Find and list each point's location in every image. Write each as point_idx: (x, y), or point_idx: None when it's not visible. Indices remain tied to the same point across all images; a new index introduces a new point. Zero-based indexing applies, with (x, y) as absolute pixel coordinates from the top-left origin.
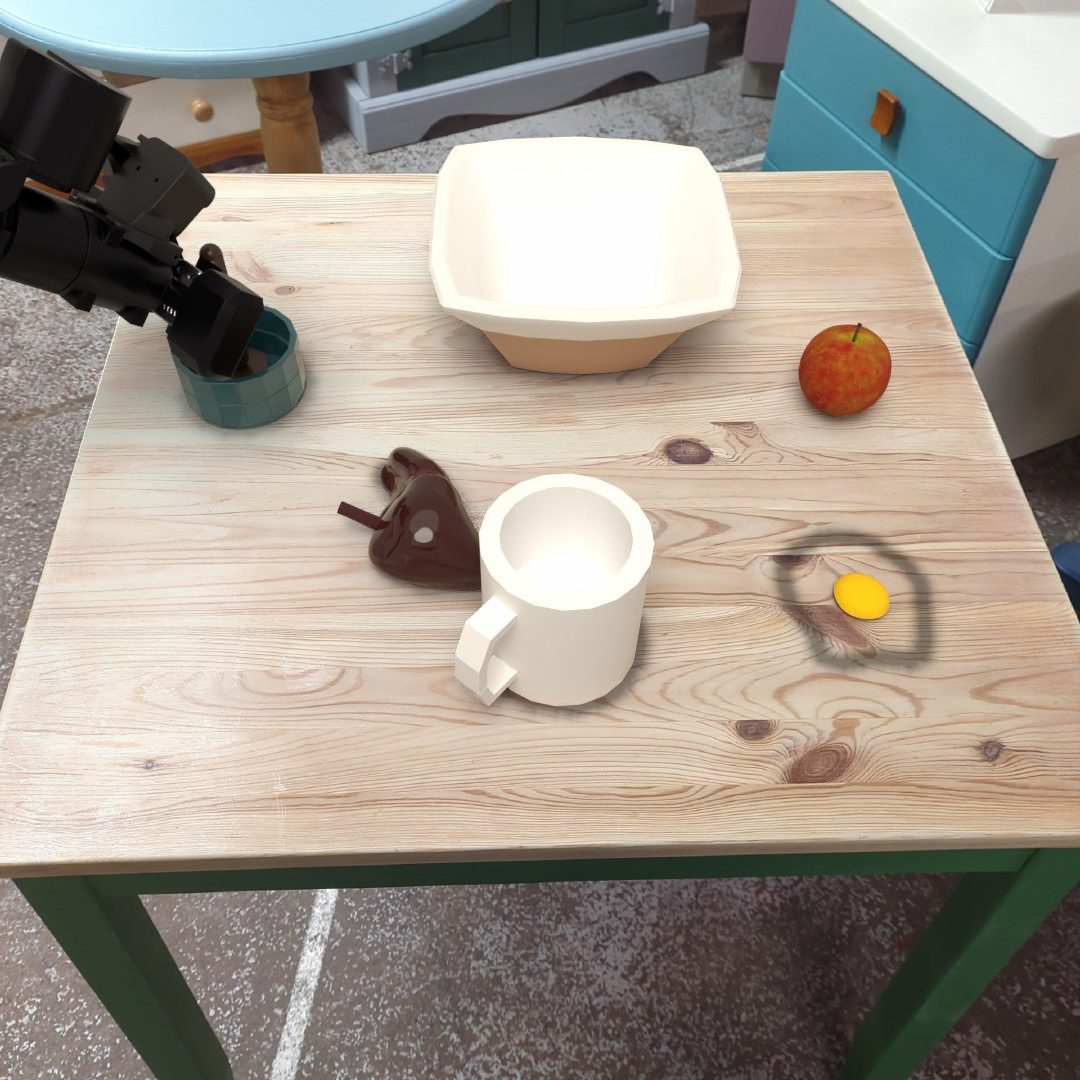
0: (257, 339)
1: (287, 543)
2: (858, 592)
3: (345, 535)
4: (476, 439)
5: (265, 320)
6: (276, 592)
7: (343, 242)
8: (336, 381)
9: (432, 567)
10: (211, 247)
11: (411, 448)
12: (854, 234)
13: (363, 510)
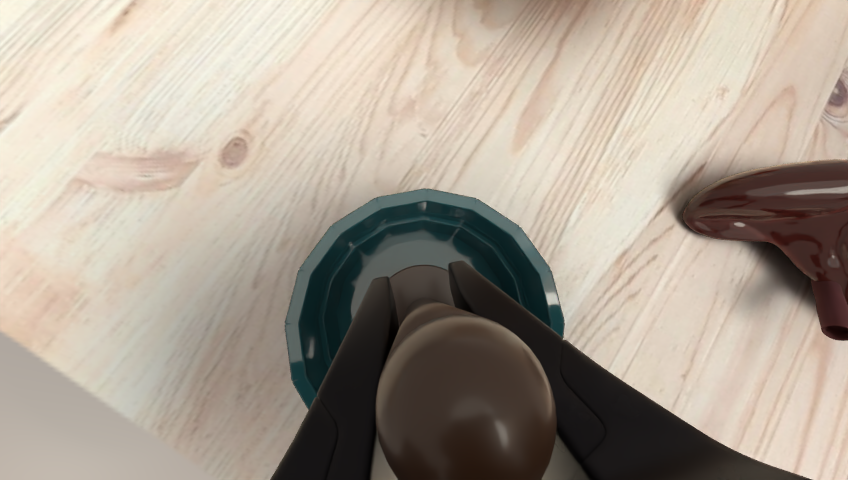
0: (357, 254)
1: (747, 404)
2: None
3: (766, 326)
4: (682, 95)
5: (365, 227)
6: (823, 459)
7: (184, 22)
8: (479, 189)
9: None
10: (521, 426)
11: (758, 174)
12: None
13: (837, 300)
